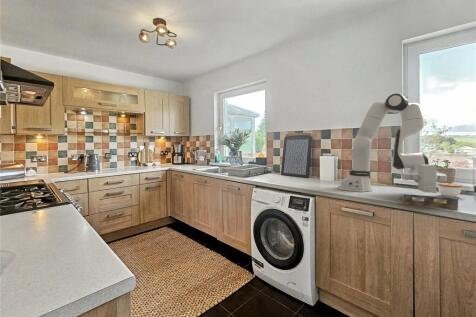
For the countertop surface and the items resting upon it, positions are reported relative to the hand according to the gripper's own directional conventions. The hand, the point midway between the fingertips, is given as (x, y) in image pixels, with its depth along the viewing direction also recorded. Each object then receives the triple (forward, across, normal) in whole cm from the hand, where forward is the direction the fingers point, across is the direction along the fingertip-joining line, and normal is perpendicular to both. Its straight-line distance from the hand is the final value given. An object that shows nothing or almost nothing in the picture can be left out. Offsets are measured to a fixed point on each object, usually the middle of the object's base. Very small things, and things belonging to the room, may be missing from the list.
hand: (426, 178), depth 124 cm
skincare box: (0, 0, +7) cm, 7 cm away
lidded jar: (-28, +18, +14) cm, 36 cm away
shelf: (+1, 0, +14) cm, 14 cm away
